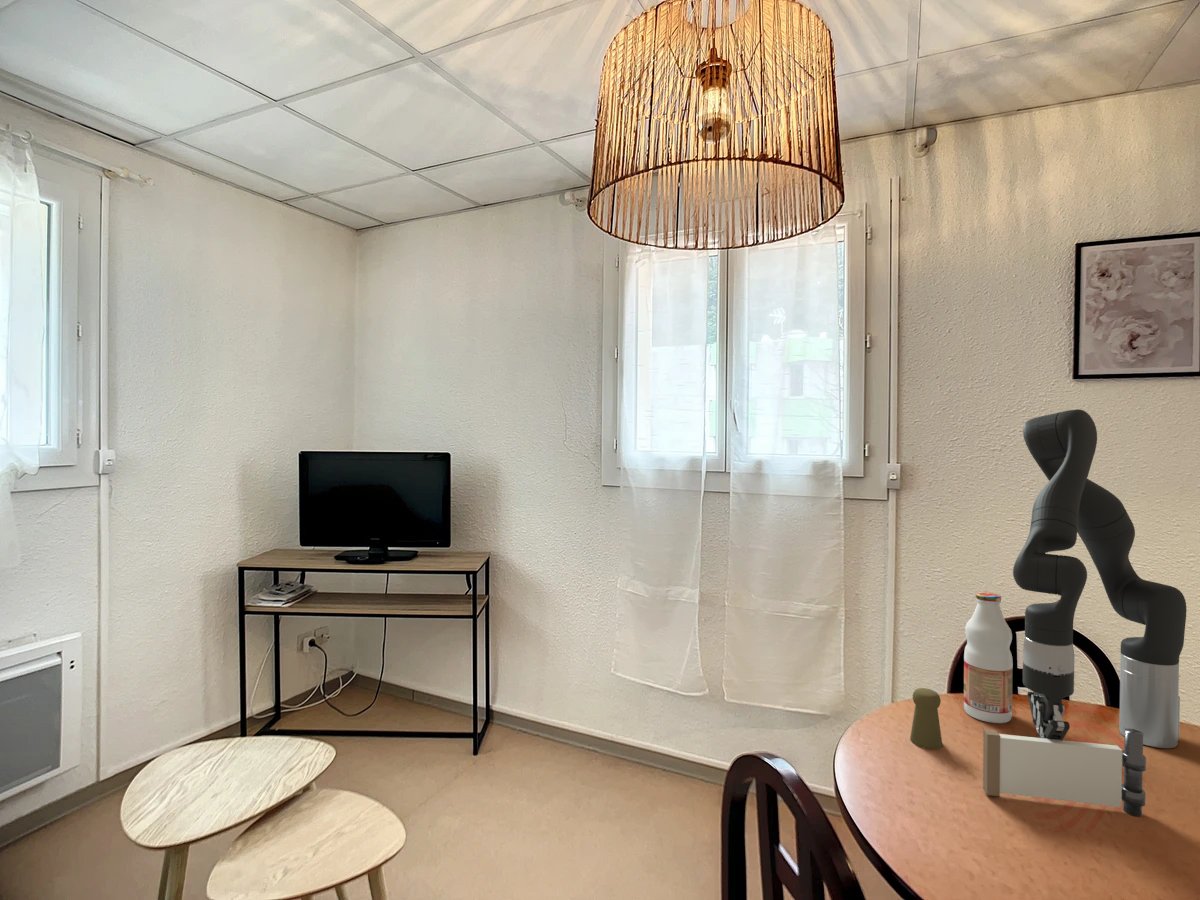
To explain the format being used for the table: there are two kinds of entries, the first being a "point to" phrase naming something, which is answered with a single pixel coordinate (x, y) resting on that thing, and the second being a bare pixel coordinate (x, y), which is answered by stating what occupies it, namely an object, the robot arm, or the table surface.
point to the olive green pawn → (926, 719)
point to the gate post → (1133, 772)
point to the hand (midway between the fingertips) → (1046, 756)
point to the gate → (1052, 769)
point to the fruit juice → (988, 662)
